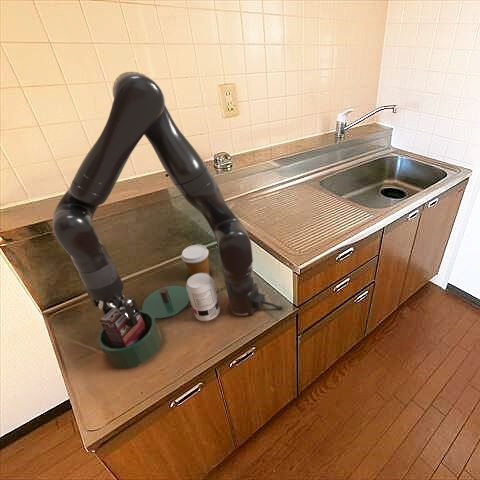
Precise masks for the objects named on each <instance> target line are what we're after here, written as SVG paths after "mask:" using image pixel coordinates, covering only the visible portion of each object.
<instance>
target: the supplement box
mask: <svg viewBox="0 0 480 480" xmlns="http://www.w3.org/2000/svg"><path fill="white" fill-rule="evenodd" d="M135 303H136V301H135ZM136 304H137V303H136ZM119 309H120V310H122V309H123V306H122V307H120V308H119ZM134 311H135V310H134ZM125 313H126V314H127V315H128V313H127V311H125ZM136 318H137V321H138V324H137V325H136V326H134V327H133V328H131V327H130V326H129V324H128V322H127V320H126V318H125V317H124V316H123V315H122V314H118V313H117V312H116V311H115V310H114V309H113V308H112V309H111V310H110V311H109V312H108V313H107V314H106V315H104V316H103V317H101V318H100V319H99V322H100V324H101V326H102V328H104V330H105V331H106V333H107V335H108V337H109V339H110V341H111V343H112V345H113V346H114V347H113V349H115V348H124V347H127V346H130V345H133V344H134V343H136V342H138V341H139V340H141V339H142V338H143V337H144V336H145V335H146V334H147V333H148V332H149V329H147V328H146V325H145V323H144V321H143V318H142V316H141V314H139V315H138V316H137V317H136Z"/></svg>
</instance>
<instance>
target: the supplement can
mask: <svg viewBox="0 0 480 480" xmlns="http://www.w3.org/2000/svg"><path fill="white" fill-rule="evenodd" d="M185 288H186V289H187V292H188V295H189V298H190V302H189V303H190V305H191V309H192V311H193V315H194V317H195V319H196V320H198V321H199V322H208V321H211V320H213V319H215V318H216V317H217V316H218V315H219V314H220V311H221V307H220V303H219V298H218V295H217V294H218V293H217V289H216V286H215V281H214V279H213V277H212V276H211V275H210V273H209V274H207V273H197V274H194V275H192V276H191V275H190V276H189V277H188V279H187V281H186V285H185Z"/></svg>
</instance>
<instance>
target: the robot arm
mask: <svg viewBox="0 0 480 480" xmlns="http://www.w3.org/2000/svg"><path fill="white" fill-rule="evenodd" d="M112 97H113V101H112V104H111V109H110V112H109V115H108V117H107V120H106V123H105V125H104V128H103V129H102V131H101V133H100V135H99V136H98V138H97V140H96V141H95V142H94V144H92V147H91V148H90V150H89V151H88V152H87V153H86V155H85V157H84V159H83V160H82V162H81V163H80V166H79V167H78V169H77V171H76V173H75V175H74V177H73V179H72V181H71V183H70V186H69V188H68V189H67V190H66V192H65V193H64V194H63V196H62V197H61V198H60V200H59V202H58V203H57V205H56V207H55V210H54V211H53V215H52V231H53V234H54V236H55V239H56V240H57V242H59V245H61V247H62V248H63V249H64V250H65V251H66V253H67V254H68V255H69V256H70V259H71V261H72V263H73V265H74V266H75V268H76V270H77V272H78V275H79V278H80V280H81V282H82V284H83V285H84V287H85V289H86V294H87V295H88V297H89V299H90V301H91V304H92V305H93V307H95V308H97V307H98V309H99V310H100V311H102V313H103V315H104V316H105V315H106V314H107V313H108V312H109V311H110V310H111V309H112V308H113V309H114V310H115V311H116V312H117V313H118V314H122V315H123V316H124V317H125V318H126V320H127V322H128V324H129V326H130V327H131V328H133V327H134V326H136V325H137V324H138V321H137V318H136V317H137V316H138V315H139V314H140V311H139V310H140V309H139V307H138V305H137V303H135V302H136V301H135V299H134V298H133V297H129V298H126V297H125V295H124V294H123V290H124V283H123V281H122V278H121V276H120V273H119V272H118V270H117V267H116V265H115V264H114V262H113V261H112V259H111V258H110V256H109V253H108V250H107V249H106V247H105V245H104V243H103V242H102V241H100V239H99V237H98V233H97V232H96V230H95V227H94V220H93V217H94V215H95V213H96V211H97V209H98V208H99V206H100V205H103V204H105V203H106V201H107V200H108V198H109V197H110V195H111V193H112V191H113V189H114V187H115V185H116V183H117V182H118V180H119V178H120V176H121V174H122V172H123V170H124V168H125V166H126V164H127V162H128V160H129V158H130V157H131V155H132V153H133V152H134V150H135V148H136V147H137V145H138V144H139V142H140V141H141V140H142V138H143V136H145V137H146V139H147V141H148V142H149V143H150V145H151V147H152V149H153V150H154V153H155V154H156V156H157V158H158V160H159V162H160V163H161V165H162V168H163V169H164V171H165V172H166V174H167V176H168V177H169V179H170V180H171V182H172V183H173V185H174V186H175V187H176V189H177V190H178V192H179V194H180V195H182V197H183V198H184V199H185V201H187V203H188V204H190V205H191V206H192V207H193V208H195V209H196V210H197V211H199V213H200V214H201V215H202V216H203V218H205V220H206V222H207V224H208V225H209V227H210V229H211V231H212V233H213V235H214V238H215V241H216V245H217V247H218V252H219V257H220V263H221V270H222V274H223V279H224V283H225V288H226V293H227V297H228V302H229V308H230V311H231V313H232V314H233V315H235V316H238V317H247V316H253V315H254V313H255V312H256V311H257V309H258V310H260V309H261V308H262V306H264V305H267V306H272V307H274V308H276V309H279V310H282V309H283V306H279V305H277V304H275V303H272V302H269V301H266V298H265V294H264V293H261V292H260V291H259V285H258V283H256V282H255V276H254V267H253V263H254V262H253V261H254V257H253V247H252V241H251V238H250V236H249V233H248V231H247V229H246V227H245V225H244V224H243V223H242V222H241V220H240V219H239V218H238V217H237V216H236V214H235V213H234V212H233V210H232V209H231V207H230V206H229V205H228V203H227V202H226V200H225V198H224V196H223V194H222V191H221V189H220V186H219V185H218V183H217V181H216V179H215V177H214V175H213V174H212V172H211V171H210V169H209V167H208V166H207V164H206V162H205V161H204V159H203V158H202V157H201V156H200V154H199V153H198V152H197V149H196V148H194V146H193V145H192V144H191V143H190V141H189V140H188V139H187V138H186V137H185V135H184V134H183V133H182V132H181V130H180V129H179V127H178V126H177V124H176V123H175V121H174V119H173V118H172V115H171V113H170V112H169V109H168V107H167V106H166V101H165V100H166V99H165V95H164V93H163V91H162V89H161V87H160V86H159V85H158V84H157V83H156V81H154V80H153V79H152V78H150V77H149V76H148V75H145V74H143V73H141V72H137V71H125V72H122V73H121V74H119V75H118V76H117V77H116V78H115V80H114V82H113V84H112ZM122 306H123V309H122V310H120V309H119V308H120V307H122ZM134 310H135V311H134ZM125 311H127V313H128V315H127V314H126V313H125Z"/></svg>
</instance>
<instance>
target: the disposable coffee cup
mask: <svg viewBox="0 0 480 480" xmlns="http://www.w3.org/2000/svg"><path fill="white" fill-rule="evenodd" d="M209 251H210V250H209V249H208V248H207V247H206V246H205V245H203V244H191V245H189V246H186V247H185V248H184V249H183V250H182V252H181V260H183V262H184V263H185V265H186V268H187V269H188V272H189V274H190V277H191V276H192V275H194V274H197V273H207V274H209V275H210V265H209Z"/></svg>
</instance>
